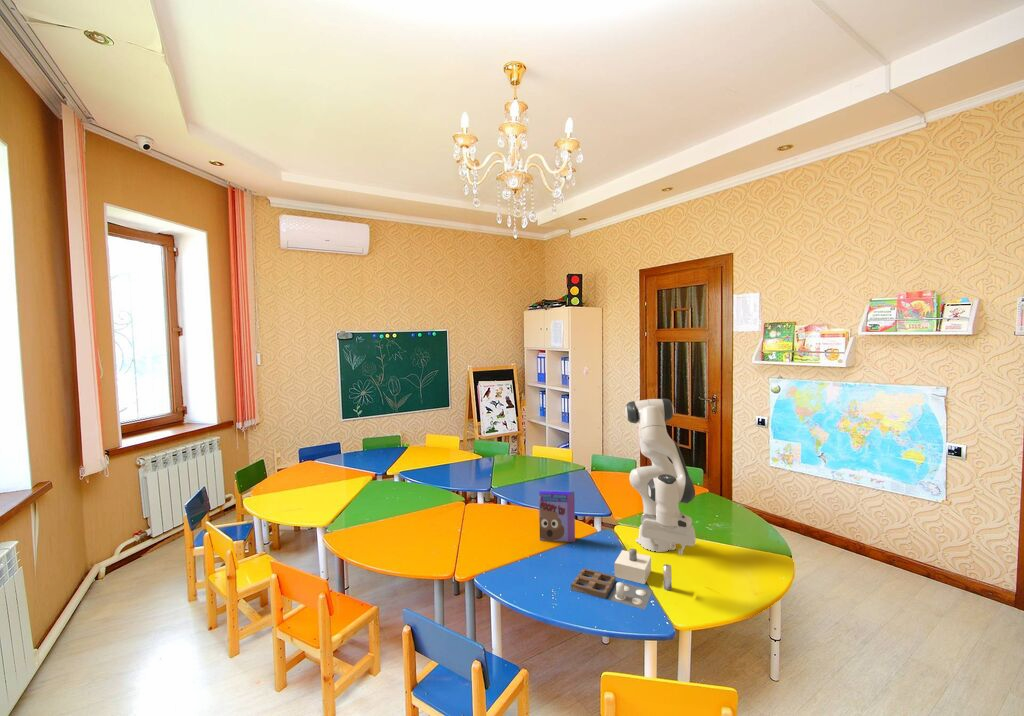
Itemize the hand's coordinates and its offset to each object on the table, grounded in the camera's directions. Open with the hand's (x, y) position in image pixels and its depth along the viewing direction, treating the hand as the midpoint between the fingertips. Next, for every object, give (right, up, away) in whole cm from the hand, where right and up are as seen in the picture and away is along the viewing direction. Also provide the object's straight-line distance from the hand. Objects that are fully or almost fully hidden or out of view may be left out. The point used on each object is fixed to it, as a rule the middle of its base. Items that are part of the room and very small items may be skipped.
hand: (668, 551), depth 174 cm
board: (-16, -17, -3) cm, 23 cm away
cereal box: (-39, -15, +48) cm, 64 cm away
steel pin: (0, -16, +1) cm, 16 cm away
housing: (-10, -16, +13) cm, 23 cm away
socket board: (-29, -17, +5) cm, 33 cm away
